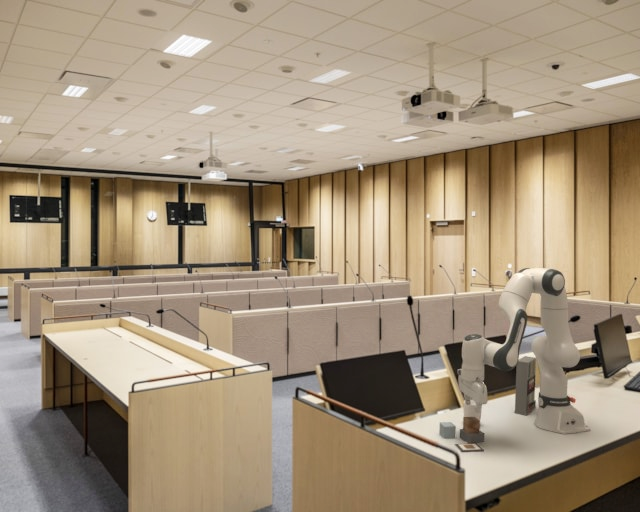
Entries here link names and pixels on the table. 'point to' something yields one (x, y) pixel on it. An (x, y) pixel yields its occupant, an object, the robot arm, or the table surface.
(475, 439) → the charcoal base block
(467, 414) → the white cup
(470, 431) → the walnut block
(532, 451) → the table surface
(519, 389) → the grey box
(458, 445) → the card
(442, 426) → the slate-blue block
